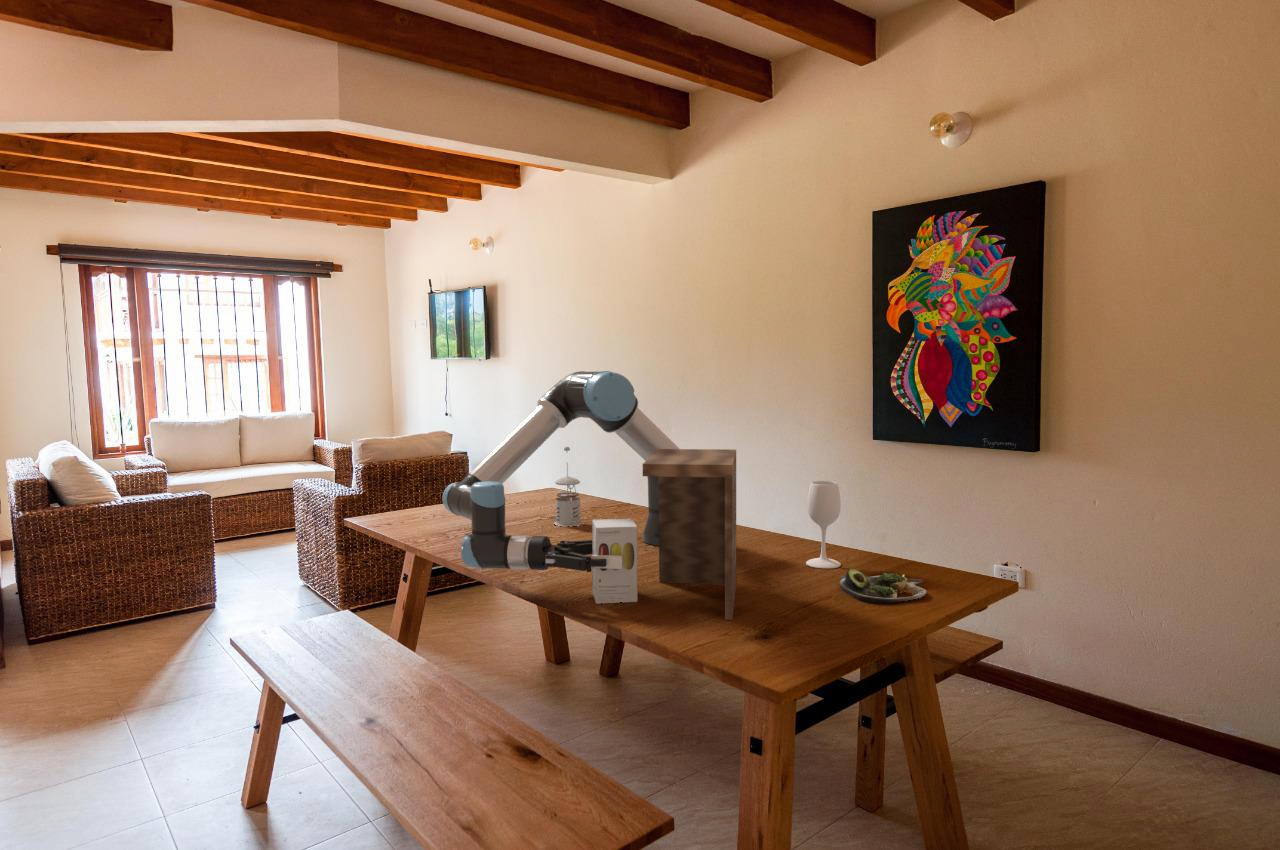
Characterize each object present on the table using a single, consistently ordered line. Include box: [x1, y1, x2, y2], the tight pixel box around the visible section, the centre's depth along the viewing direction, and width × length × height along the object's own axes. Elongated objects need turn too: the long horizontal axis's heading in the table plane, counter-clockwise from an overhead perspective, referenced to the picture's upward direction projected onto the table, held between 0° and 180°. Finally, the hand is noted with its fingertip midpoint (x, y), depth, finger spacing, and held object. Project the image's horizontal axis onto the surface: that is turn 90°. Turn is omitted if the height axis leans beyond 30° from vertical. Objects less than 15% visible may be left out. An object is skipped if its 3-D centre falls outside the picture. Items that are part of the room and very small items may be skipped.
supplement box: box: [591, 517, 639, 605], centre depth 172 cm, size 10×9×17 cm
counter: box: [642, 448, 737, 621], centre depth 169 cm, size 18×26×32 cm
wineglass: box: [805, 480, 842, 570], centre depth 197 cm, size 9×9×21 cm
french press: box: [553, 446, 584, 527], centre depth 249 cm, size 10×12×25 cm
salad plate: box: [839, 568, 928, 604], centre depth 175 cm, size 19×18×5 cm
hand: (627, 555), depth 171 cm, fingers closed on supplement box, 11 cm apart
